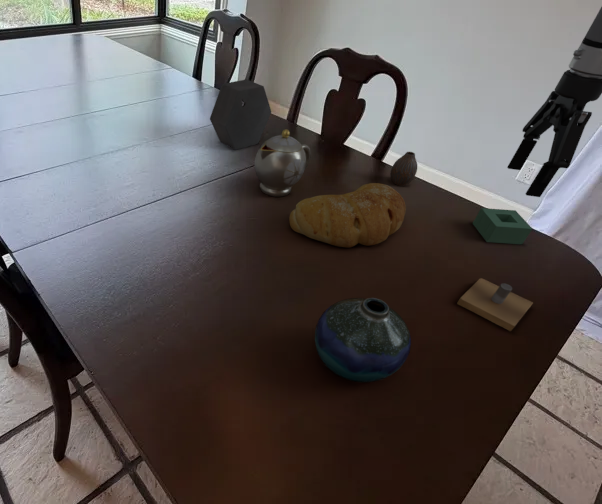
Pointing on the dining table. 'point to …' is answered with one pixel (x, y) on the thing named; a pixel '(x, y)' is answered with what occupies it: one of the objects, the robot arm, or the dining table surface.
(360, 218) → the bread
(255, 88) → the planter
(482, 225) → the green block with hole
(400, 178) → the vase
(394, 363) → the vase
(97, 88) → the dining table surface
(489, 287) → the wooden peg base
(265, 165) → the teapot
